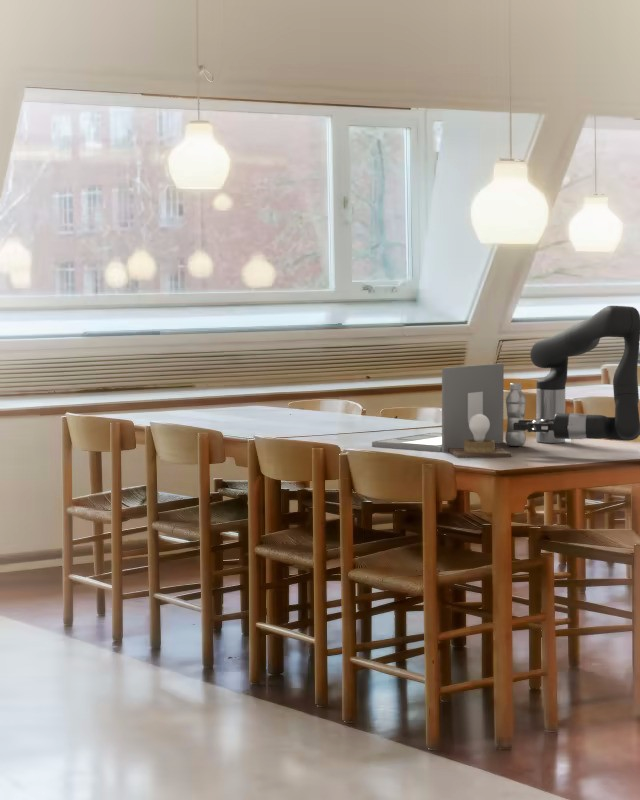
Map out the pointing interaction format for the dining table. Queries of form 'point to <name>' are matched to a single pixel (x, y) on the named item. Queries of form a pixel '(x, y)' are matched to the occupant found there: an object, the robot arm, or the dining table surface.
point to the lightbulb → (479, 427)
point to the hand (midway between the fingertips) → (515, 425)
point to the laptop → (461, 409)
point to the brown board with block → (479, 449)
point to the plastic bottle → (515, 415)
